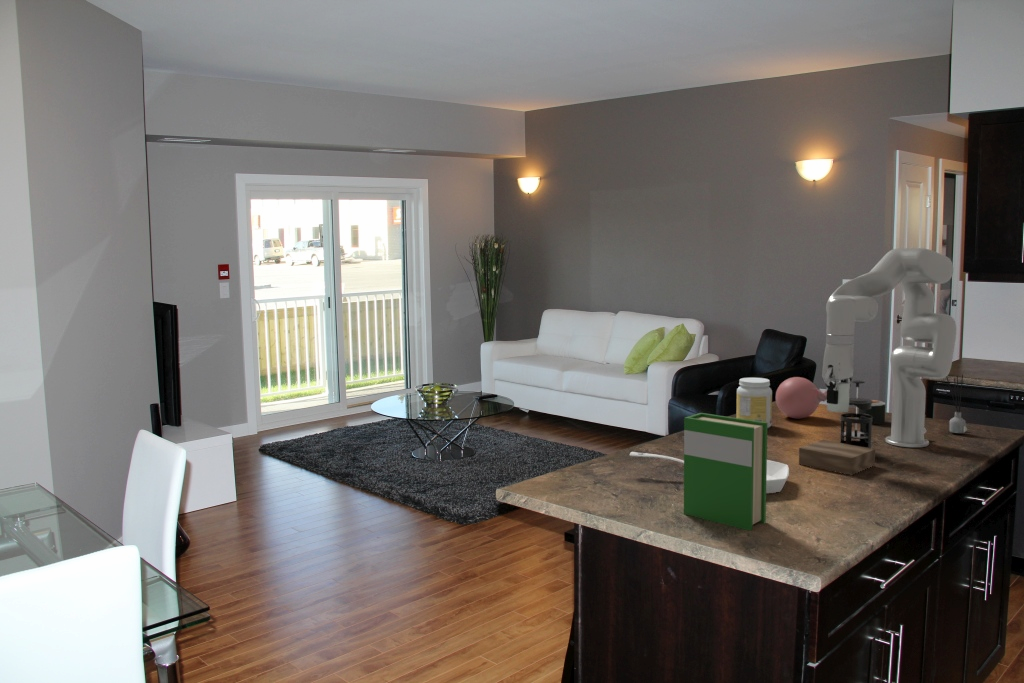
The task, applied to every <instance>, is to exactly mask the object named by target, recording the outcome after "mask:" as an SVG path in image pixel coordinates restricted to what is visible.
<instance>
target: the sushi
mask: <svg viewBox="0 0 1024 683" xmlns="http://www.w3.org/2000/svg"><path fill="white" fill-rule="evenodd" d="M871 400H872V401H873V403H871V409H869V410H861V409H859V408H858V413H859V414H869V415H870V416H872V424H875V425H884V424H885V423H886V422H885V421H886V402H884V401H881V400H875V399H871ZM858 419H861V418H858Z"/></svg>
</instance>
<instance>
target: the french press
mask: <svg viewBox="0 0 1024 683" xmlns="http://www.w3.org/2000/svg"><path fill="white" fill-rule="evenodd" d="M850 383H851V384H852V383H853V384H855V388H856V397H850V399H849V406H855V412H849V413H848V412H845V413H841V414H840V441H839V443H844V444H849V445H855V446H860V447H866V448H871V449H872V426H873V425H872V416H870V415H869V414H859V412H858V410H859V409H861V410H869V409H871V403H873V401H872V400H873V399H868V398H862V397H861V398H860V397H859V396H858V395H859V388H860V384H866V381H864V380H859V379H858V380H857V379H855V380H854V379H852V380H851V382H850ZM859 418H861V419H859ZM853 424H855V429H854V430H853ZM858 424H860V425H859V426H860V427H859V428H860V429H859V431H858V430H857V429H858V428H857V427H858ZM852 439H853V440H852ZM854 439H855V440H854Z"/></svg>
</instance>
